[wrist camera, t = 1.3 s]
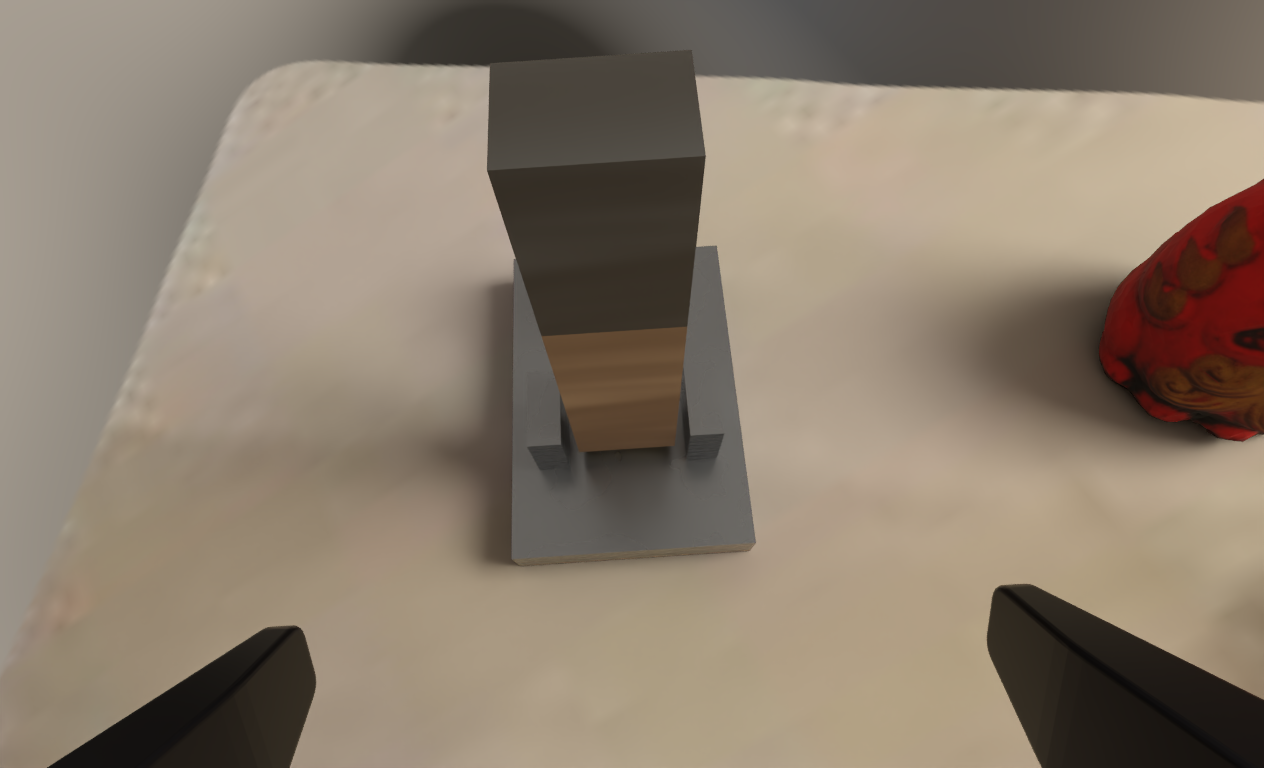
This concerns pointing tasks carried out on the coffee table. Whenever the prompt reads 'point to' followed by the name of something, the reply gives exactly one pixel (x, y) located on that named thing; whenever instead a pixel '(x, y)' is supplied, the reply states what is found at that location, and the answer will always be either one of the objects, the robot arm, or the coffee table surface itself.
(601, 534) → the base
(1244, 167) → the coffee table surface
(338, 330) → the coffee table surface
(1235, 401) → the decorative doll
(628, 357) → the lever
